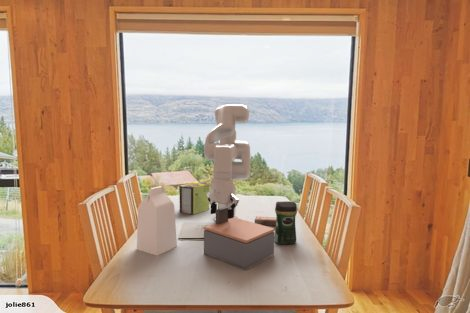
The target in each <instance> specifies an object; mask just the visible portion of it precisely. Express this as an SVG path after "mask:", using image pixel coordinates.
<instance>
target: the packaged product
mask: <svg viewBox="0 0 470 313" xmlns="http://www.w3.org/2000/svg"><path fill="white" fill-rule="evenodd" d="M254 223H256V224H260V225H263V226H267V227H271V228H274V229H276V217H270V216H255V218H254Z"/></svg>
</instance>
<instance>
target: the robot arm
mask: <svg viewBox="0 0 470 313" xmlns="http://www.w3.org/2000/svg"><path fill="white" fill-rule="evenodd" d="M249 117H250V111H249V108H248V107H247V105H244V104H224V105H221V106H219V107H216V109H215V110H214V118H215V122H216V126H215V127H214V128H213V129H212V130H211V131H210V132H208V134H207V135H206V137H205V141H204V147H203V150H204V151H203V156H204V158H205V159H206V160H207V161H213V171H212V174H213V177H212V178H211V181H210V191H209V192H208V193H207V197H208V200H209V206H210V215H216V209H220V208H223V207H228V219H231V218H233V217H235V218H238V219H239V217H238V216H236V211H237V209H236V207H237V206H238V204H239V202H240V199H239V198H238V197H237V187H236V185H235V183H234V181H246V180H247V181H248V179H249V178H250V176H251V146H250V144H249V142H248V141H245V140H237V131H236V124H247V123H248V122H249V119H250V118H249ZM218 141H219V142H218ZM234 160H240V161H234ZM214 221H215V222H216V216H214Z"/></svg>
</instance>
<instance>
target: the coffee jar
mask: <svg viewBox="0 0 470 313" xmlns="http://www.w3.org/2000/svg"><path fill="white" fill-rule="evenodd" d="M274 212H275V214H276V215H275V216H276V217H275V218H276V229H275V231H274V232H275V235H274V243H276V244H278V245H294V244H296V243H297V230H296V217H297V214H298V206H297V203H296V202H295V201H288V200H287V201H276V203H275V206H274Z"/></svg>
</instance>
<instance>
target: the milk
mask: <svg viewBox="0 0 470 313" xmlns="http://www.w3.org/2000/svg"><path fill="white" fill-rule="evenodd" d="M137 208H138V209H137V228H136V229H137V232H136V233H137V234H136V250H138V251H141V252H144V253H148V254H150V255H154V256H160V255H161V254H163V253H165V252H168V251H169V250H172V249H174V248H176V247H178V244H177V241H178V240H177V228H176V211H175V210H176V208H175V203H174V202H173V201H172V199H171V198H170V197H169V196H168V195H167V194H166V193H165V190H164V187H163V185H162V186H160V185H159V186H156V187H151V188H149V190H148V194H147V196H146V197H144V199H143V200H142V201H141V202H140V203H139V204H138V207H137Z"/></svg>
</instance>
